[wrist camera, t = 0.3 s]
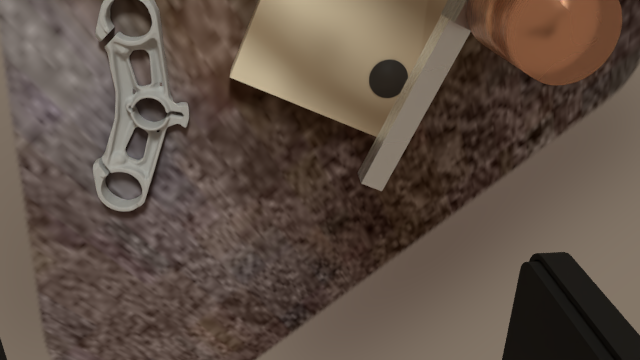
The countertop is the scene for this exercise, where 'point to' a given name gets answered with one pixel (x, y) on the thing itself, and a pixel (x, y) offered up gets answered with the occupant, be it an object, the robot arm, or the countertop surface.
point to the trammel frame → (413, 102)
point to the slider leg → (544, 33)
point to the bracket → (128, 113)
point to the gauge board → (336, 54)
